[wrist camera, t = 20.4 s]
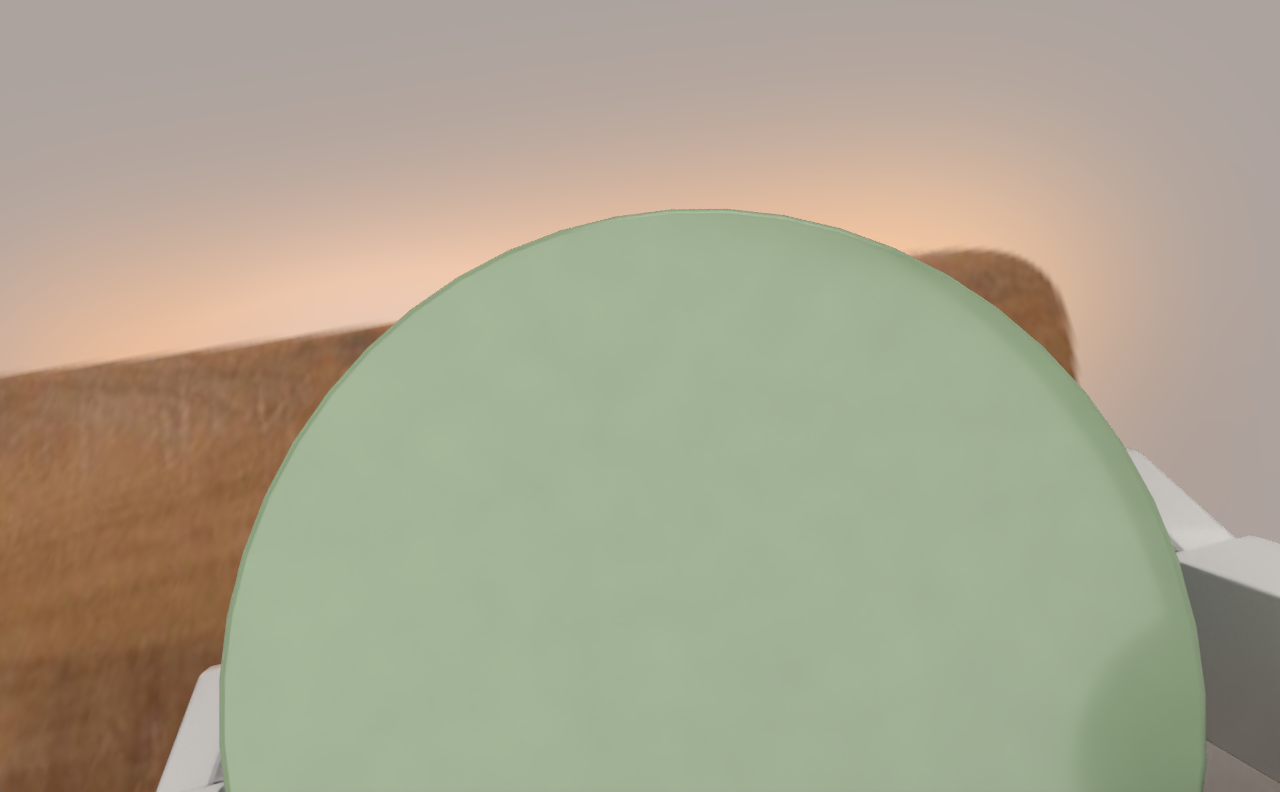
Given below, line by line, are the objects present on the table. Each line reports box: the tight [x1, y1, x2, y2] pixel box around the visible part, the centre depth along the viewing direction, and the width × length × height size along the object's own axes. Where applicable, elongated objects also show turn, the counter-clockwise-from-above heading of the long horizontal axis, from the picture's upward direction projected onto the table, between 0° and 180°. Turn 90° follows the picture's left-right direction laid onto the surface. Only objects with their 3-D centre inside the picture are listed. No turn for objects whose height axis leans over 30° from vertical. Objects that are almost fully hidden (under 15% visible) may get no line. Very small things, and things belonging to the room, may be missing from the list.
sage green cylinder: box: [219, 209, 1206, 792], centre depth 11 cm, size 6×6×8 cm
